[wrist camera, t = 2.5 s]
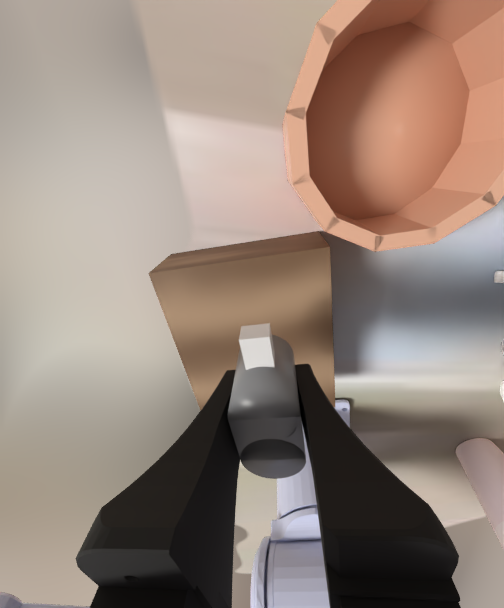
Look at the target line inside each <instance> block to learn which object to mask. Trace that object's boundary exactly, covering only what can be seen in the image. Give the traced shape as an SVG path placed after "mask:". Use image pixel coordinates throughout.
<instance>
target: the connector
mask: <svg viewBox="0 0 504 608" xmlns="http://www.w3.org/2000/svg"><path fill="white" fill-rule="evenodd" d="M239 343H240V347H241V348H240V350H239V355H238V360H237V366H236V371H235V377H234V382H233V387H232V393H231V398H230V404H229V409H228V421H229V424H230V428H231V431H232V434H233V437H234V440H235V444H236V447H237V450H238V453H239V456H240V460H241V462H242V464H243V466H244V467H245V468H246V469H247V470H248V471H250V472H252V473H253V474H256V475H258V476H261V477H265V478H273V479H278V478H286V477H290V476H293V475H295V474H297V473H299V472H300V471H301V470H302V469H303V468H304V466H305V464H306V454H305V445H304V436H303V428H302V419H301V411H300V403H299V395H298V386H297V379H296V369H295V360H294V353H293V350H292V348H291V346H290V345H289V343H288V342H286V341H285V340H284V339H282V338H280V337H278V336H275V335H272V334H271V328H270V323H267V324H258V325H248V326H241V331H240V336H239Z"/></svg>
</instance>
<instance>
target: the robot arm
mask: <svg viewBox="0 0 504 608" xmlns="http://www.w3.org/2000/svg"><path fill="white" fill-rule="evenodd" d="M295 369H296V379H297V386H298V395H299V403H300V411H301V419H302V428H303V436H304V445H305V454H306V464H305V466H304V468H303V469H302V470H301V471H300V472H299V473H297V474H295V475H293V476H290V477H286V478H278V479H277V520H272V521H271V536H268V537H264V539H263V540H262V542H261V544H260V546H259V548H258V549H257V552H256V554H255V558H254V562H253V569H252V578H251V608H461V607H460V605H459V603H458V602H459V601H460V597H459V594H458V592H457V589H456V587H455V585H454V583H453V580H452V578H451V577H452V575H453V573H454V571H455V568H456V566H457V564H458V558H459V555H458V553H457V551H456V549H455V547H454V544H453V542H452V540H451V539H450V537H449V535H448V534H447V532H446V530H445V528H444V527H443V525H442V524H441V522H440V520H439V519H438V517H437V516H436V514H435V513H434V512H433V510H432V509H431V507H430V506H429V505H428V504H427V503H426V502H425V501H424V500H422V499H421V498H420V497H419V496H418V495H417V494H415V493H414V492H413V491H412V490H411V489H410V488H408V487H407V486H406V485H405V484H404V483H403V482H402V481H401V480H399V479H398V478H397V477H396V476H395V475H394V474H393V473H392V472H391V471H390V470H389V469H388V468H387V467H386V466H385V465H384V464H383V463H382V462H381V461H380V460H379V459H378V458H377V457H376V456H375V455H374V454H373V453H372V452H371V451H370V450H369V449H368V448H367V447H366V446H365V445H364V444H363V443H362V442H361V440H360V439H359V438H358V437H357V436H356V435H355V434H354V433H353V431H352V430H351V429H350V404H349V401H348V400H335V407H333V405H332V404H331V402H330V401H329V399H328V398H327V396H326V395H325V393H324V392H323V390H322V388H321V387H320V385H319V383H318V381H317V379H316V377H315V375H314V373H313V371H312V368H311V365H309V364H297V365H295ZM235 371H236V370H227V371H226V372H225V374H224V375H223V377H222V379H221V381H220V382H219V384H218V385H217V387H216V389H215V390H214V392H213V393H212V395H211V396H210V398H209V399H208V401H207V402H206V404H205V405H204V407H203V408H202V410H201V411H200V412H199V414H198V415H197V416H196V418H195V419H194V420H193V422H192V423H191V424H190V426H189V427H188V428H187V429H186V431H185V432H184V433H183V434H182V435H181V436H180V437H179V439H178V440H177V441H176V442H175V443H174V444H173V445H172V446H171V447H170V448H169V449H168V450H167V452H166V453H165V454H164V455H163V456H162V457H161V458H160V459H159V460H158V461H157V462H156V463H155V464H153V465H152V466H151V467H150V468H149V469H148V470H147V471H146V472H145V473H144V474H143V475H141V476H140V477H139V478H138V479H137V480H136V481H135V482H133V483H132V484H131V485H130V486H129V487H127V488H126V489H125V490H124V491H122V492H121V493H120V494H119V495H117V496H116V497H115V498H113V499H112V500H111V501H110V502H109V503H107V504H106V505H105V506H103V507H102V508H101V510H100V512H99V514H98V515H97V517H96V519H95V521H94V523H93V525H92V527H91V529H90V531H89V533H88V535H87V537H86V539H85V541H84V543H83V545H82V547H81V549H80V551H79V553H78V555H77V557H76V561H77V565H78V567H79V568H80V570H81V571H82V572H83V573H85V574H86V575H87V576H88V577H89V578H90V579H92V580H93V581H94V582H95V583H96V584H98V586H99V587H98V590H97V592H96V594H95V597H94V599H93V602H92V604H91V606H90V607H87V606H70V605H53V604H35V603H22V602H21V600H20V599H19V598H17V597H15V596H14V595H11V594H8V593H3V592H0V608H232V606H231V605H232V570H233V544H234V523H235V506H236V491H237V478H238V470H239V463H240V456H239V453H238V450H237V447H236V444H235V440H234V437H233V434H232V431H231V428H230V424H229V421H228V409H229V404H230V398H231V393H232V387H233V382H234V377H235Z"/></svg>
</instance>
